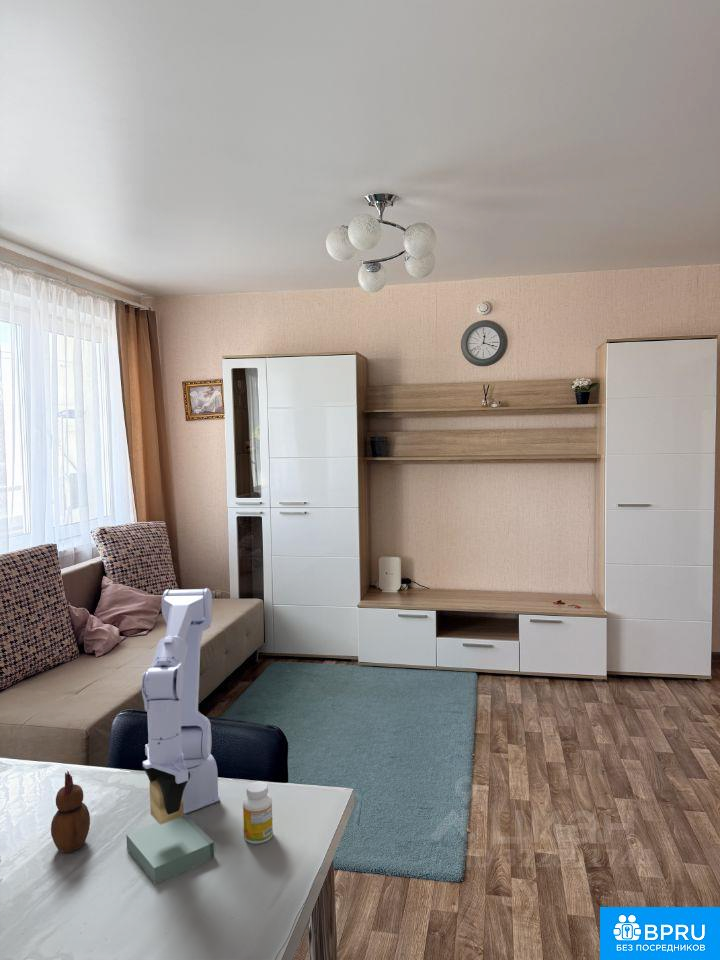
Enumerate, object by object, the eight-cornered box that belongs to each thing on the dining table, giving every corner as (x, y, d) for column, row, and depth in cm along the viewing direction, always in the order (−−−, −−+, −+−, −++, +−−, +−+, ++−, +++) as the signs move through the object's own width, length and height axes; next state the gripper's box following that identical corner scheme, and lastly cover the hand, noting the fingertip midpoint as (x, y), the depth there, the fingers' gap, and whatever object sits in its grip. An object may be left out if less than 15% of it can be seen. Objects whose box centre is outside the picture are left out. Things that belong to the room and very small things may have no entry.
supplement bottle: (244, 829, 131) (243, 780, 130) (272, 827, 132) (271, 778, 131) (243, 846, 126) (241, 795, 125) (272, 843, 126) (271, 792, 126)
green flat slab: (183, 827, 132) (182, 812, 132) (214, 858, 122) (213, 842, 122) (127, 850, 125) (126, 834, 125) (155, 885, 115) (154, 867, 115)
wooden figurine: (74, 859, 122) (71, 778, 122) (46, 855, 124) (42, 775, 123) (96, 837, 129) (93, 760, 128) (69, 834, 130) (65, 758, 129)
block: (173, 805, 126) (172, 774, 126) (183, 815, 123) (182, 783, 122) (150, 814, 124) (149, 782, 123) (160, 824, 120) (159, 791, 120)
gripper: (128, 726, 125) (130, 797, 126) (159, 753, 114) (162, 831, 115) (164, 716, 130) (167, 784, 131) (198, 741, 119) (200, 816, 119)
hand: (167, 806), depth 123 cm, fingers closed on block, 4 cm apart
